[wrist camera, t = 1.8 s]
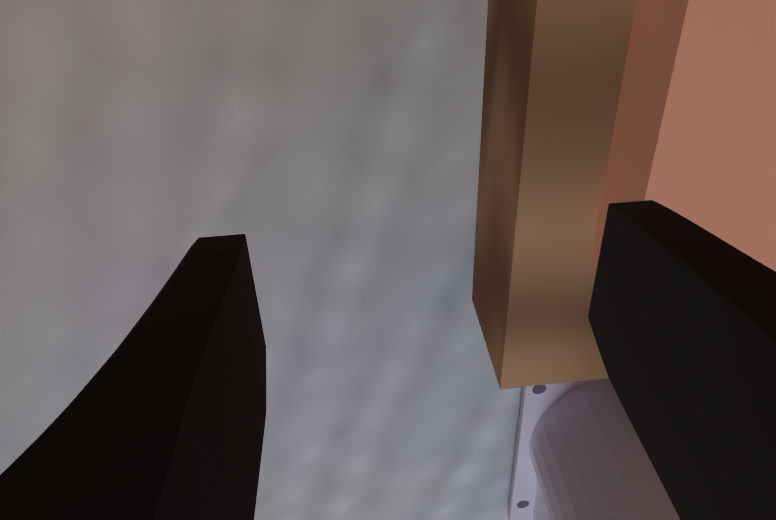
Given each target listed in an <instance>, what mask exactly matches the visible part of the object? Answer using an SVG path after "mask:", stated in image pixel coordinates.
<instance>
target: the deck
mask: <svg viewBox="0 0 776 520" xmlns="http://www.w3.org/2000/svg"><path fill="white" fill-rule="evenodd" d="M635 6H636V0H488V19H487V37H486V56H485V74H484V92H483V111H482V129H481V148H480V166H479V184H478V203H477V221H476V239H475V258H474V276H473V295H472V300H473V304H474V307H475V310H476V313H477V316H478V320H479V323H480V326H481V329H482V332H483V336H484V339H485V342H486V345H487V348H488V351H489V355H490V358H491V361H492V364H493V367H494V371H495V374H496V377H497V380H498V383H499V387H500V389H506V388H516V387H526V386H536V385H546V384H556V383H566V382H576V381H586V380H596V379H606V378H609V377H608V374H607V372H606V369H605V366H604V363H603V361H602V358H601V355H600V352H599V349H598V346H597V343H596V340H595V337H594V334H593V331H592V328H591V325H590V322H589V319H588V313H589V307H590V302H591V297H592V291H593V286H594V281H595V275H596V270H597V266H596V264H595V262H594V261H593V259H592V257H591V254H592V248H593V243H594V237H595V232H596V226H597V220H598V215H599V209H600V203H601V198H602V192H603V186H604V181H605V175H606V170H607V164H608V158H609V153H610V147H611V141H612V136H613V130H614V124H615V119H616V113H617V107H618V102H619V96H620V91H621V85H622V79H623V74H624V68H625V62H626V57H627V51H628V45H629V40H630V34H631V29H632V23H633V17H634V12H635Z"/></svg>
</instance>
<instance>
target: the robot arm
mask: <svg viewBox="0 0 776 520" xmlns="http://www.w3.org/2000/svg"><path fill="white" fill-rule="evenodd" d="M588 319H589V322H590V325H591V328H592V331H593V334H594V337H595V340H596V343H597V346H598V349H599V352H600V355H601V358H602V361H603V363H604V366H605V369H606V372H607V374H608V377H609V378H606V379H596V380H586V381H576V382H566V383H556V384H546V385H538V386H526V387H523V390H522V398H521V406H520V414H519V423H518V431H517V439H516V447H515V455H514V463H513V472H512V480H511V488H510V496H509V504H508V516H509V520H776V272H775V271H774V270H772V269H770V268H769V267H767V266H765V265H763V264H762V263H760V262H758V261H757V260H755V259H753V258H752V257H750V256H748V255H747V254H745V253H743V252H742V251H740V250H738V249H737V248H735V247H733V246H732V245H730V244H728V243H727V242H725V241H723V240H722V239H720V238H718V237H717V236H715V235H713V234H712V233H710V232H709V231H707V230H705V229H704V228H702V227H700V226H699V225H697V224H695V223H693V222H692V221H690V220H688V219H687V218H685V217H683V216H681V215H680V214H678V213H676V212H674V211H673V210H671V209H669V208H667V207H665V206H663V205H661V204H659V203H657V202H655V201H653V200H645V201H633V202H621V203H610V204H609V205H608V211H607V216H606V221H605V227H604V232H603V237H602V243H601V248H600V254H599V259H598V264H597V270H596V275H595V281H594V286H593V291H592V297H591V302H590V307H589V313H588ZM265 417H266V345H265V340H264V334H263V329H262V323H261V318H260V312H259V307H258V302H257V296H256V291H255V285H254V280H253V274H252V269H251V263H250V258H249V252H248V247H247V242H246V236H245V234H239V235H227V236H215V237H203V238H198V239H197V240H196V242H195V243H194V244H193V245H192V246H191V248H190V249H189V250H188V252H187V253H186V255H185V256H184V258H183V259H182V261H181V262H180V264H179V265H178V267H177V268H176V269H175V271H174V272H173V274H172V275H171V277H170V278H169V280H168V281H167V282H166V284H165V285H164V287H163V288H162V290H161V291H160V292H159V294H158V295H157V297H156V298H155V299H154V301H153V302H152V304H151V305H150V306H149V308H148V309H147V310H146V312H145V313H144V314H143V315H142V317H141V318H140V319H139V321H138V322H137V323H136V325H135V326H134V327H133V329H132V330H131V331H130V333H129V334H128V335H127V336H126V338H125V339H124V340H123V342H122V343H121V344H120V346H119V347H118V348H117V349H116V351H115V352H114V353H113V354H112V355H111V357H110V358H109V359H108V360H107V361H106V363H105V364H104V365H103V366H102V367H101V368H100V370H99V371H98V372H97V373H96V374H95V375H94V377H93V378H92V379H91V380H90V381H89V382H88V384H87V385H86V386H85V387H84V388H83V390H82V391H81V392H80V393H79V394H78V395H77V397H76V398H75V399H74V400H73V401H72V402H71V403H70V404H69V406H68V407H67V408H66V409H65V410H64V411H63V412H62V413H61V414H60V415H59V416H58V417H57V419H56V420H55V421H54V422H53V423H52V424H51V425H50V426H49V427H48V428H47V429H46V430H45V431H44V432H43V433H42V434H41V435H40V436H39V437H38V438H37V440H36V441H35V442H33V443H32V444H31V445H30V446H29V447H28V448H27V449H26V450H25V451H24V452H23V453H22V454H21V455H20V456H19V457H18V458H17V459H16V460H15V461H14V462H13V463H12V464H11V465H10V466H9V467H8V468H7V469H6V470H5V471H4V472H3V473H2V474H1V475H0V520H254V513H255V505H256V496H257V488H258V479H259V471H260V462H261V453H262V445H263V436H264V427H265Z"/></svg>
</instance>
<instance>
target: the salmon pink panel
mask: <svg viewBox="0 0 776 520" xmlns="http://www.w3.org/2000/svg"><path fill="white" fill-rule="evenodd" d="M645 200H653V201H655V202H657V203H659V204H661V205H663V206H665V207H667V208H669V209H671V210H673V211H674V212H676V213H678V214H680V215H681V216H683V217H685V218H687V219H688V220H690V221H692V222H693V223H695V224H697V225H699V226H700V227H702V228H704V229H705V230H707V231H709V232H710V233H712V234H713V235H715V236H717V237H718V238H720V239H722V240H723V241H725V242H727V243H728V244H730V245H732V246H733V247H735V248H737V249H738V250H740V251H742V252H743V253H745V254H747V255H748V256H750V257H752V258H753V259H755V260H757V261H758V262H760V263H762V264H763V265H765V266H767V267H769V268H770V269H772V270H774V271H775V272H776V0H636V6H635V12H634V17H633V23H632V29H631V34H630V40H629V45H628V51H627V57H626V62H625V68H624V74H623V79H622V85H621V91H620V96H619V102H618V107H617V113H616V119H615V124H614V130H613V136H612V141H611V147H610V153H609V158H608V164H607V170H606V175H605V181H604V186H603V192H602V198H601V203H600V209H599V215H598V220H597V226H596V232H595V237H594V243H593V248H592V254H591V257H592V259H593V261H594V262H595V264H596V266H597V264H598V259H599V254H600V248H601V243H602V237H603V232H604V227H605V221H606V216H607V211H608V205H609V204H610V203H621V202H633V201H645Z"/></svg>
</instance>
